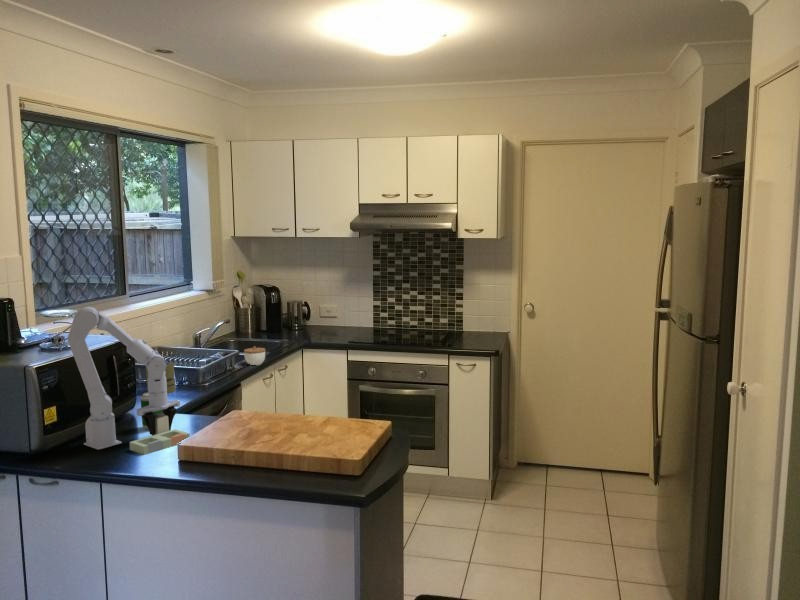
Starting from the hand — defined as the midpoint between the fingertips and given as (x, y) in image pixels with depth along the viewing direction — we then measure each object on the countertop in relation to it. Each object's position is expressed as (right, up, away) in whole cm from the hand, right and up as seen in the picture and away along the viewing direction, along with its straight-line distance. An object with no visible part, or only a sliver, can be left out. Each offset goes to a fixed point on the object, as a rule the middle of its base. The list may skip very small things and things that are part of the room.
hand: (160, 432), depth 219 cm
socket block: (+3, -2, -9) cm, 10 cm away
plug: (0, -2, 0) cm, 2 cm away
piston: (-23, +4, +66) cm, 70 cm away
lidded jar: (+5, +10, +121) cm, 121 cm away
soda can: (-6, -1, +12) cm, 13 cm away
